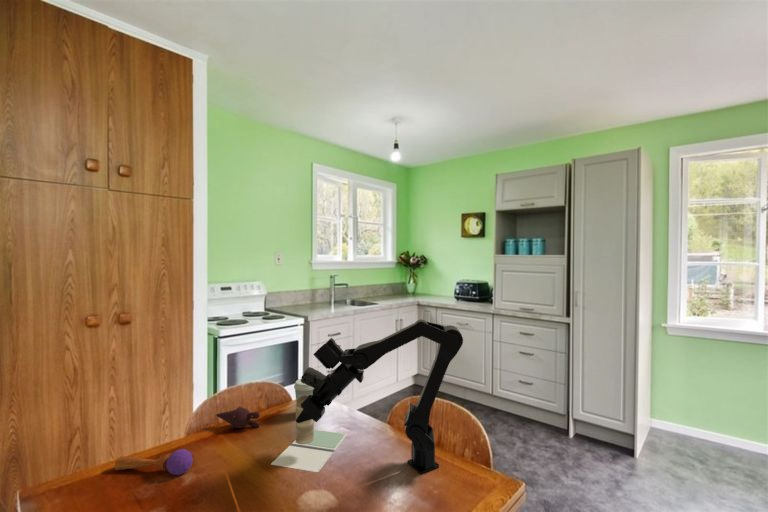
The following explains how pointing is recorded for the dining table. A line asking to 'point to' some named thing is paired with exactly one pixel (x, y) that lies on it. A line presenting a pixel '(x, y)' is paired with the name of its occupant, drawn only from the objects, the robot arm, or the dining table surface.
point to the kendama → (160, 462)
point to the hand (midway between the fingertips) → (300, 417)
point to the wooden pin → (303, 425)
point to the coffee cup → (302, 389)
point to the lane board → (310, 452)
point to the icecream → (240, 418)
